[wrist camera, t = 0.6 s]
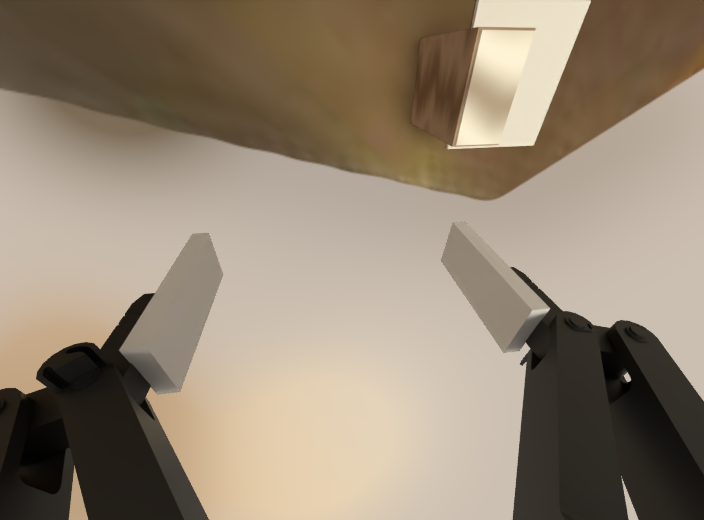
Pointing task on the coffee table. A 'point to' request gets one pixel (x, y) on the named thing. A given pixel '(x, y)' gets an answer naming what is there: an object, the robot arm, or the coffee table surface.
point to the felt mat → (533, 57)
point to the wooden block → (469, 83)
